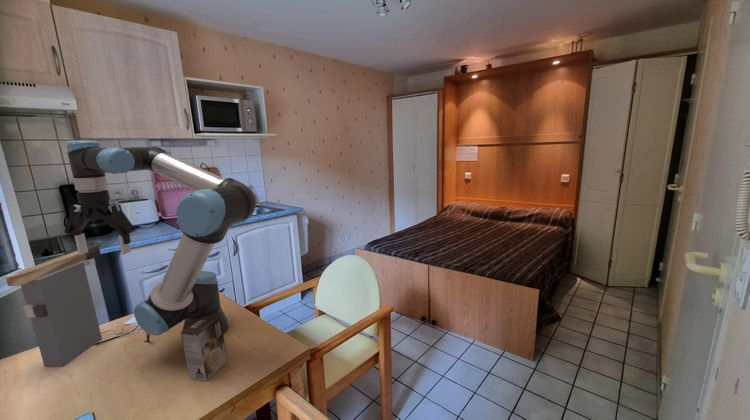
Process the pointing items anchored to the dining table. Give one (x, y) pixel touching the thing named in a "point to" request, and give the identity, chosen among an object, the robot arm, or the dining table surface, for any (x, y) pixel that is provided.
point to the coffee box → (204, 347)
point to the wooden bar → (50, 266)
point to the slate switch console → (62, 314)
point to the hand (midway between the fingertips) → (105, 253)
